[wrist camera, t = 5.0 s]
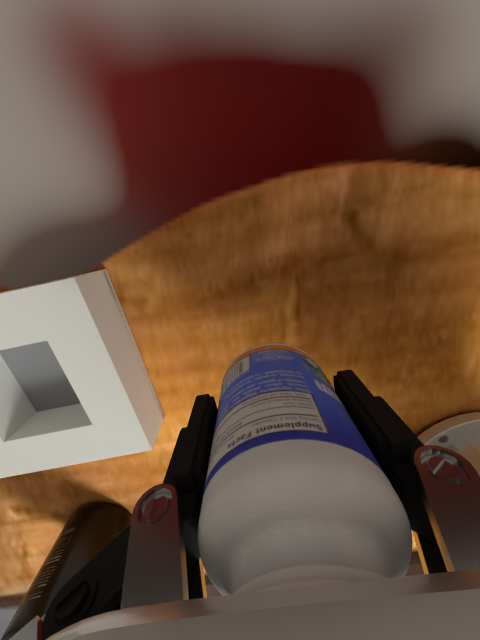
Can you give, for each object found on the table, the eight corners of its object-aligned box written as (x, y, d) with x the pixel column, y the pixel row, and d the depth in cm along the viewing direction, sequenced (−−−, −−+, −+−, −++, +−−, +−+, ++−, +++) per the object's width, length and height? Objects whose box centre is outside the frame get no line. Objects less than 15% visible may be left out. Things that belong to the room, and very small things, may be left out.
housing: (105, 268, 16) (74, 277, 13) (164, 415, 21) (151, 450, 17) (-69, 307, 17) (-142, 324, 14) (25, 442, 21) (-14, 480, 18)
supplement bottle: (84, 544, 26) (-26, 775, 15) (61, 503, 24) (-89, 740, 13) (144, 537, 26) (79, 764, 15) (127, 496, 24) (34, 727, 13)
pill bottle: (331, 413, 13) (540, 818, 4) (238, 436, 14) (229, 836, 4) (310, 325, 12) (581, 661, 2) (206, 355, 12) (90, 719, 3)
